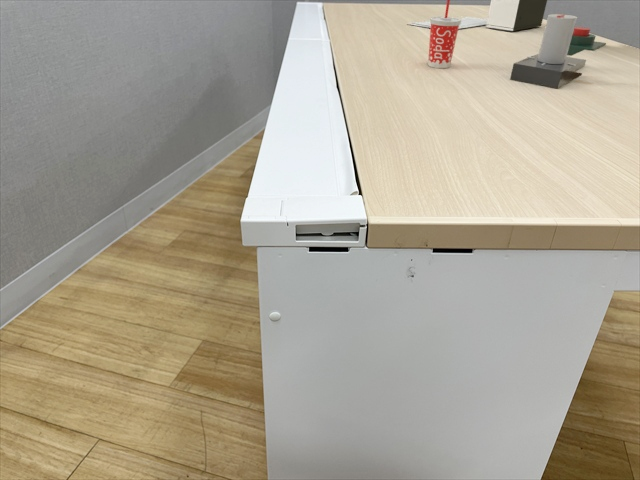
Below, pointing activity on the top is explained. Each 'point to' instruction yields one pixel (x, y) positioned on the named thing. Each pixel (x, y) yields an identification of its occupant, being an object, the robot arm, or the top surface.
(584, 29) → the stop button
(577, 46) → the button box
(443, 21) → the beverage cup
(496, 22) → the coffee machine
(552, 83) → the tap block
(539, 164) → the top surface
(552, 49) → the light grey cylinder
